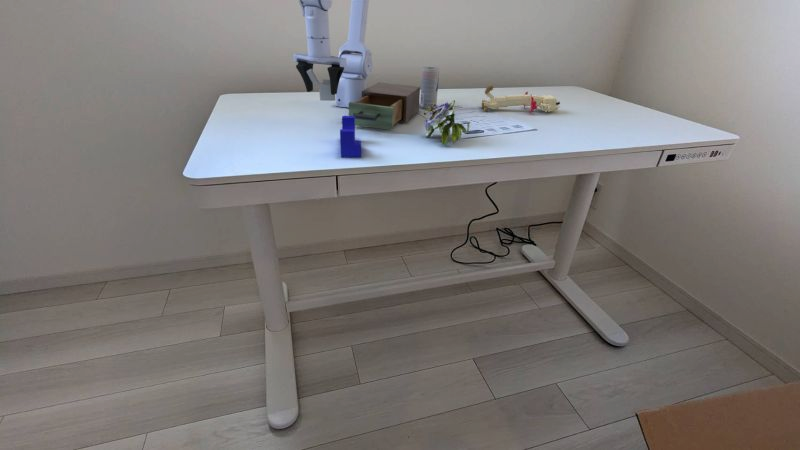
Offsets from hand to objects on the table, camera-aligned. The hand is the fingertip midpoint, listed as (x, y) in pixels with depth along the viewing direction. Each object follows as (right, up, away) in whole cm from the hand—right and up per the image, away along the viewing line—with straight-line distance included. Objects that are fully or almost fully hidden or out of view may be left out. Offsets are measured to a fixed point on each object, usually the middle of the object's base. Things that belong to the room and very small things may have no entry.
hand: (321, 92), depth 107 cm
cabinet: (+19, -2, +13) cm, 23 cm away
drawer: (+15, -8, +2) cm, 17 cm away
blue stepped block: (+10, -18, -13) cm, 24 cm away
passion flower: (+33, -14, -5) cm, 36 cm away
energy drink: (+31, +3, +22) cm, 38 cm away
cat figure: (+61, +1, +22) cm, 65 cm away
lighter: (0, -2, +1) cm, 2 cm away
